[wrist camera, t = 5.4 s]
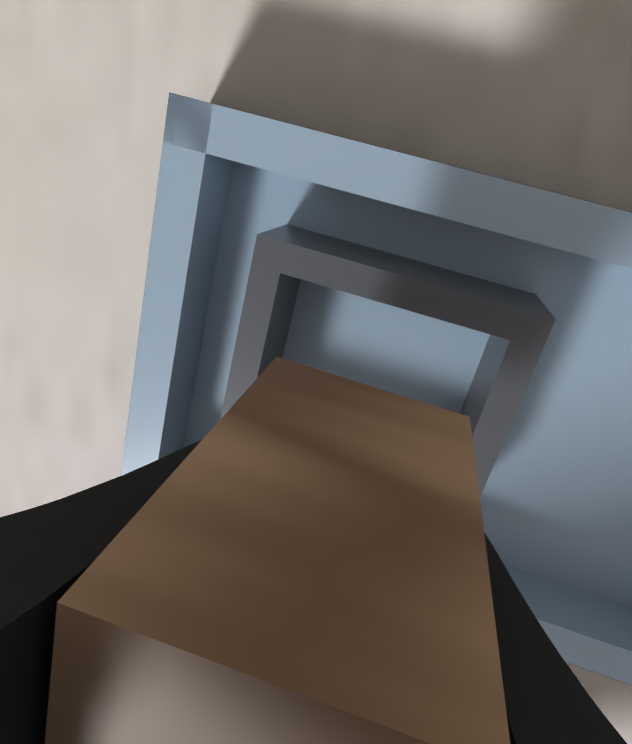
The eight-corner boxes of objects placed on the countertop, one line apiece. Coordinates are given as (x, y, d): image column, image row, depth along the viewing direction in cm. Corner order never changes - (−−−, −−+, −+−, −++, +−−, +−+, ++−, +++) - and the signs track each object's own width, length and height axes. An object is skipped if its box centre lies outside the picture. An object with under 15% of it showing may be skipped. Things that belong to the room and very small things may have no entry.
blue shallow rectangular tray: (153, 467, 21) (104, 518, 18) (208, 104, 17) (154, 87, 13) (683, 648, 19) (730, 740, 16) (925, 291, 14) (1060, 323, 11)
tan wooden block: (239, 514, 13) (34, 865, 6) (276, 356, 11) (56, 602, 5) (408, 573, 12) (372, 1012, 6) (469, 416, 11) (514, 776, 4)
